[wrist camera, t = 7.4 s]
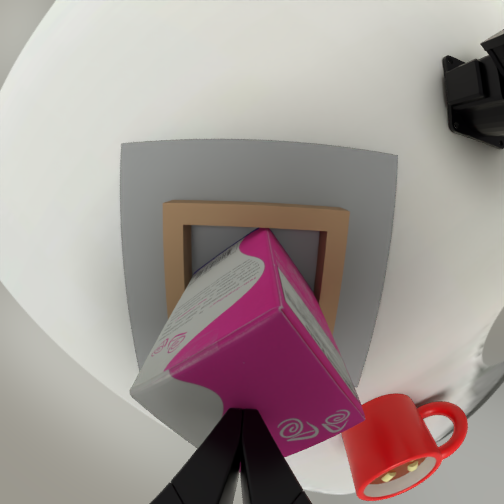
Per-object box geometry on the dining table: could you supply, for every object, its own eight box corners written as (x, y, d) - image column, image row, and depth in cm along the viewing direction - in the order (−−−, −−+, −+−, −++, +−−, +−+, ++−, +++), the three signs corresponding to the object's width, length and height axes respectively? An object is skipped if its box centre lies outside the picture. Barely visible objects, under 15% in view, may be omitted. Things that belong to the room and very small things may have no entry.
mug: (445, 409, 23) (474, 455, 15) (348, 452, 24) (361, 508, 17) (448, 362, 21) (489, 412, 13) (334, 413, 22) (350, 481, 15)
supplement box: (245, 337, 20) (231, 478, 9) (192, 271, 19) (115, 387, 7) (317, 293, 19) (370, 424, 8) (266, 220, 18) (274, 296, 6)
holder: (393, 155, 17) (412, 153, 14) (355, 382, 21) (363, 402, 19) (125, 144, 17) (106, 141, 15) (142, 371, 22) (132, 390, 19)
